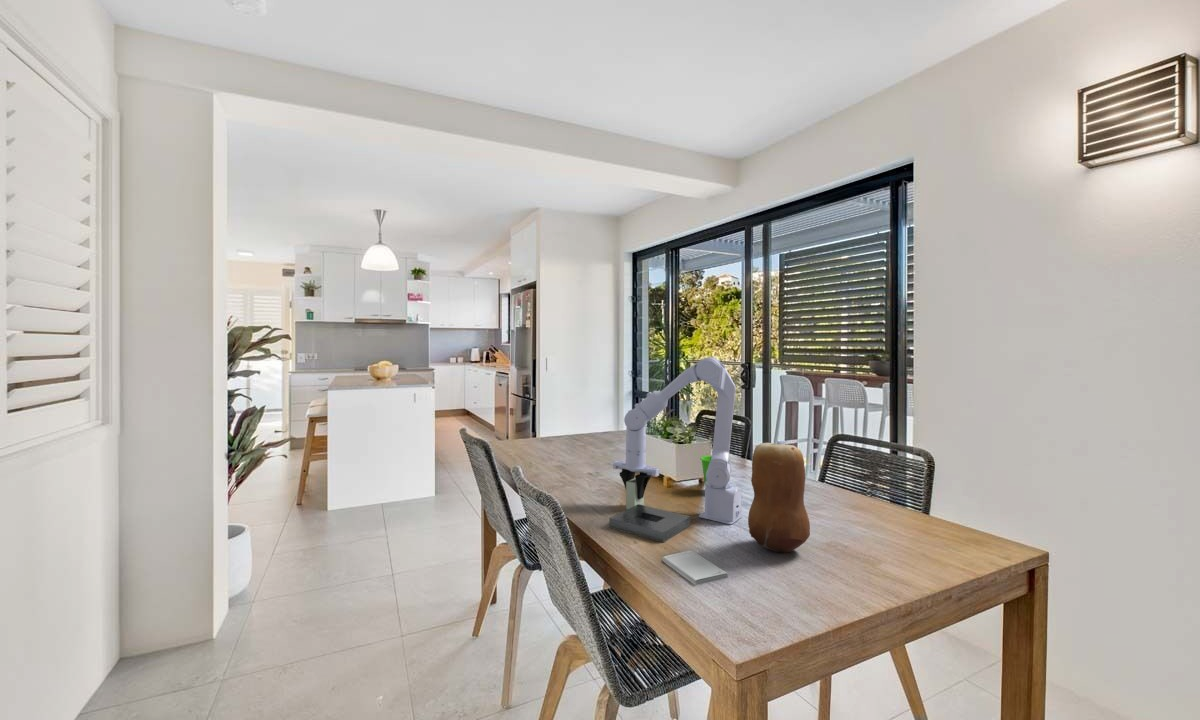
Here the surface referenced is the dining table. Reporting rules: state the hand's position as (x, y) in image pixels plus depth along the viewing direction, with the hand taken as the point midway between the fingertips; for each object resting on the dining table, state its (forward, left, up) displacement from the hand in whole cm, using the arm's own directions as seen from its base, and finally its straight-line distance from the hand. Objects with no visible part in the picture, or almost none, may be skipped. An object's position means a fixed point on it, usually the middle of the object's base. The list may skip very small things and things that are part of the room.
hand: (635, 496), depth 148 cm
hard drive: (-31, +25, -4) cm, 40 cm away
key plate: (-11, +10, -3) cm, 15 cm away
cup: (-12, -28, -3) cm, 31 cm away
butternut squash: (-42, +4, -3) cm, 42 cm away
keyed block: (0, 0, -3) cm, 3 cm away
